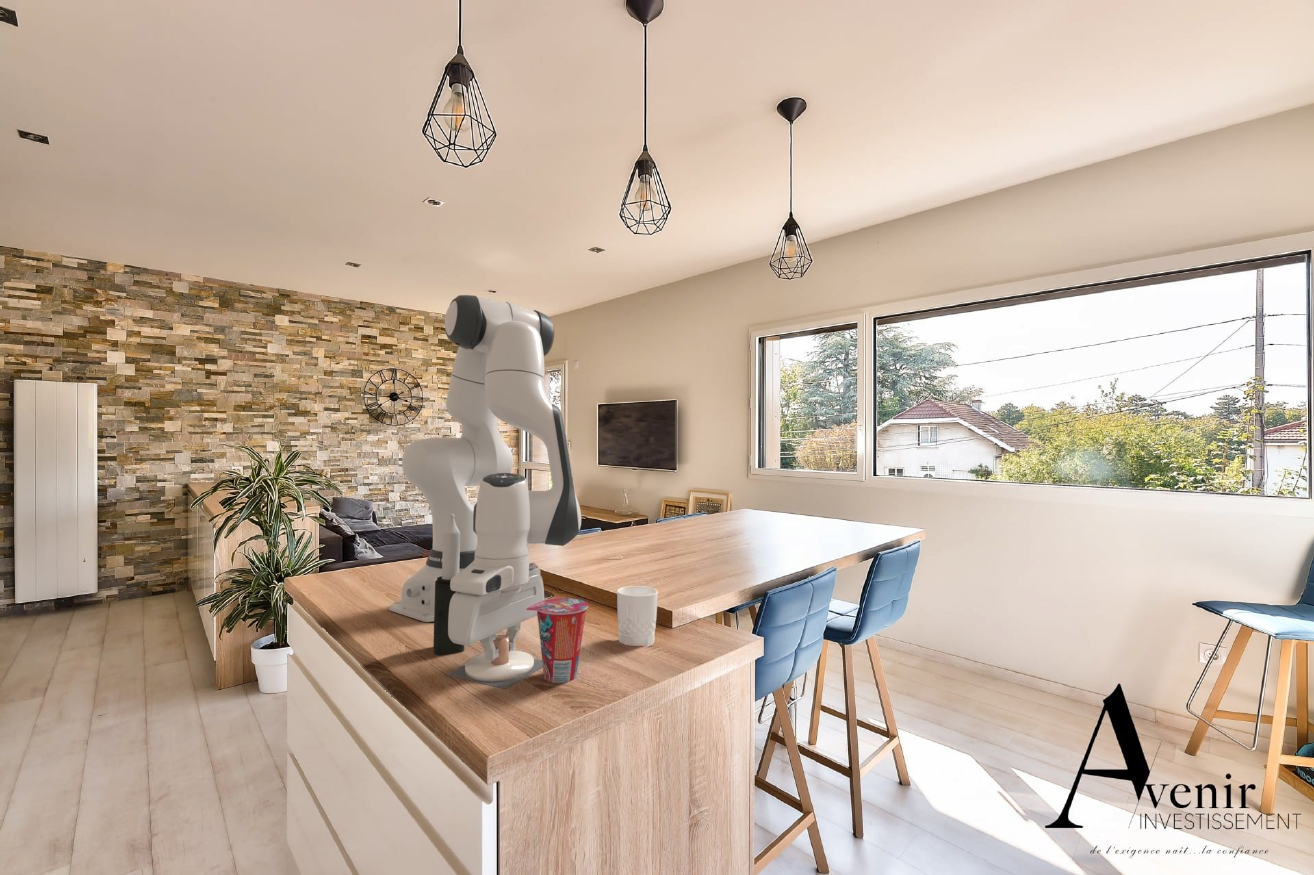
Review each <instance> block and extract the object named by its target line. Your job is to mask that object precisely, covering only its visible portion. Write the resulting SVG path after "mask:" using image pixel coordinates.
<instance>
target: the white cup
mask: <svg viewBox="0 0 1314 875" xmlns="http://www.w3.org/2000/svg"><path fill="white" fill-rule="evenodd" d="M616 594H617V595H616V597H617V600H616V601H617V602H616V604H617V626H618V642H619V643H620V644H624V645H625V646H631V647H635V646H636V647H647V648H649V647H651V646H653V645H654V643H655V634H656V633H655V632H656V626H657V625H656V624H657V614H658V613H657V612H658V597H659V590H658V589H657V588H654V587H651V586H646V585H629V586H622V587H620V588H618V589H617V590H616Z"/></svg>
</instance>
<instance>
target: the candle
mask: <svg viewBox="0 0 1314 875" xmlns="http://www.w3.org/2000/svg"><path fill="white" fill-rule="evenodd" d="M454 516H455V515H454V514H450V520H449V523H448V526H447V528H446V529H445V531H444V532H443V556H442V576H440V577H438V578H437V580H436V581H435V605H434V621H433V645H432V646H433V648H432V649H433V654H434V655H436V656H444V655H452V654H460V653H463V652H464V651H465V645H460V644H456V643H453V642H452V641H451V639H450V638H449V635H448V617H449V605H450V601H451V598H452V596H453V595H454V594H455V593H456V591H452V590H451V588H450V582H451V579H452V578H453V577H454V576H455V575H457V574H458V573H459V559H460V531H459V530H458V528H457V527H456V523H455V520H454Z"/></svg>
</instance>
